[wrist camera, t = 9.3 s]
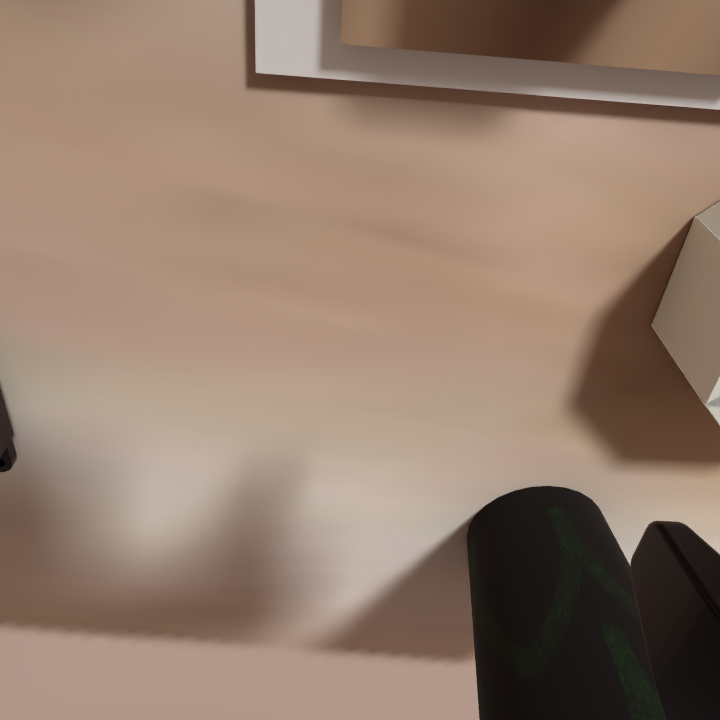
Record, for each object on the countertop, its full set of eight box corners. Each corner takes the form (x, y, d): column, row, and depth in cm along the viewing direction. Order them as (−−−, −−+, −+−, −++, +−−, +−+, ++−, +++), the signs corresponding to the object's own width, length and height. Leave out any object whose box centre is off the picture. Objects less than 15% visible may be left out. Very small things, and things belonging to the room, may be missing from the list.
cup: (404, 525, 27) (437, 889, 17) (572, 435, 24) (722, 808, 15) (504, 610, 31) (577, 951, 21) (660, 540, 28) (828, 895, 18)
